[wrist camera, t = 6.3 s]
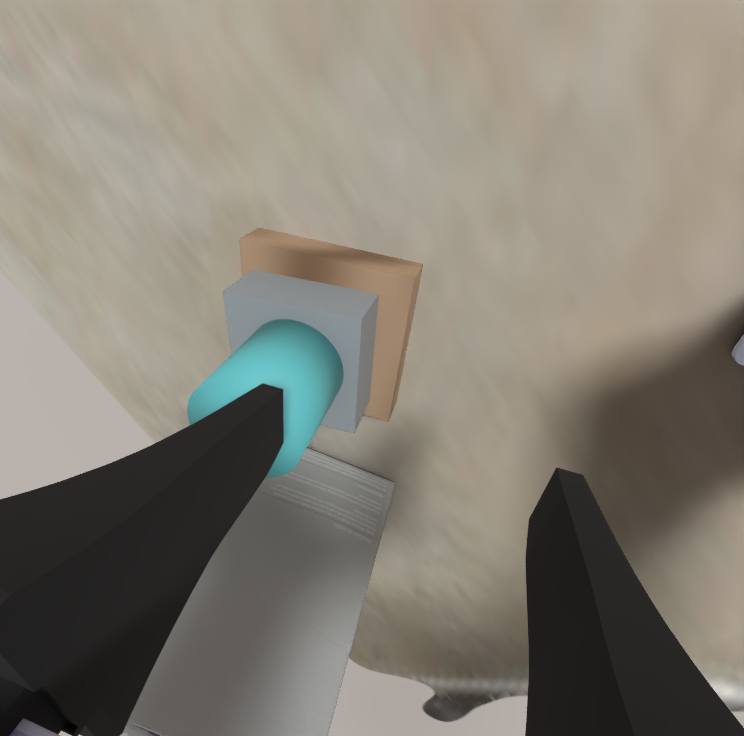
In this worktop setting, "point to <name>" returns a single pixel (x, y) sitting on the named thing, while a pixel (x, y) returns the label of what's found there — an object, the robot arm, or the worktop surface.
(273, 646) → the skincare box
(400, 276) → the walnut base slab
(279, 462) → the teal cylinder
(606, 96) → the worktop surface
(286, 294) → the slate top slab
